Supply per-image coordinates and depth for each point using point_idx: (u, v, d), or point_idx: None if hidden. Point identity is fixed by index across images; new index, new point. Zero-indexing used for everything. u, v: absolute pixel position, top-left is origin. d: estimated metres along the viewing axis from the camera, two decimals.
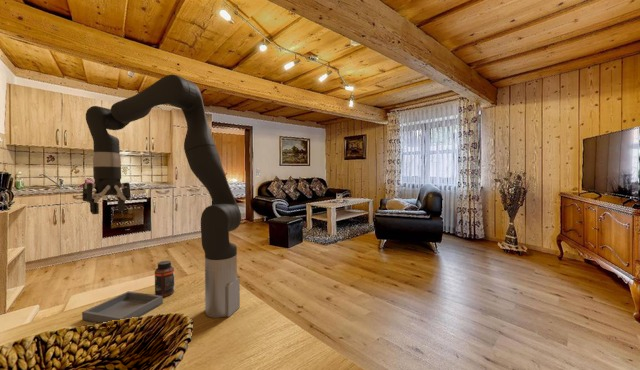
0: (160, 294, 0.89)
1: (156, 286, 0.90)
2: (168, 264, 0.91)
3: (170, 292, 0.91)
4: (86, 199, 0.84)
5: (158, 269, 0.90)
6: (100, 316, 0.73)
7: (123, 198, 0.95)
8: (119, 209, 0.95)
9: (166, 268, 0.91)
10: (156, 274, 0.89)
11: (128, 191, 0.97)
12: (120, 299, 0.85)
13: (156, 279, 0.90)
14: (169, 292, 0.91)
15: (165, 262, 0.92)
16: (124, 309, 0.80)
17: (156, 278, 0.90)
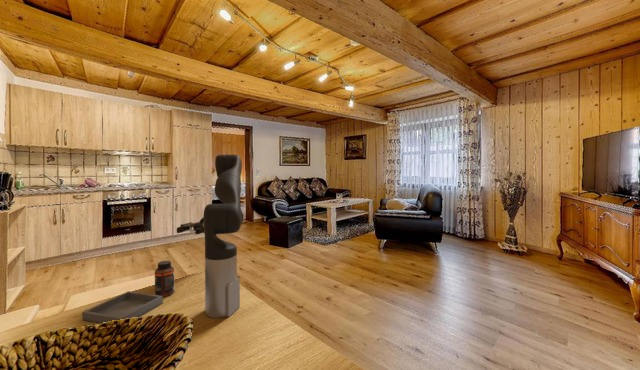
0: (160, 294, 0.89)
1: (156, 286, 0.90)
2: (168, 264, 0.91)
3: (170, 292, 0.91)
4: None
5: (158, 269, 0.90)
6: (100, 316, 0.73)
7: (204, 226, 1.06)
8: None
9: (166, 268, 0.91)
10: (156, 274, 0.89)
11: None
12: (120, 299, 0.85)
13: (156, 279, 0.90)
14: (169, 292, 0.91)
15: (165, 262, 0.92)
16: (124, 309, 0.80)
17: (156, 278, 0.90)
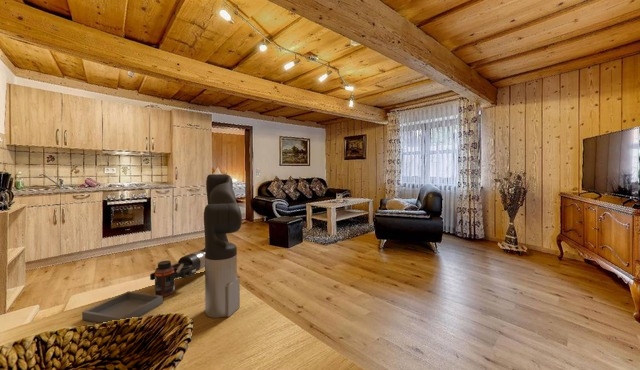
0: (160, 294, 0.89)
1: (156, 286, 0.90)
2: (168, 264, 0.91)
3: (170, 292, 0.91)
4: None
5: (158, 269, 0.90)
6: (100, 316, 0.73)
7: (177, 270, 0.93)
8: None
9: (166, 268, 0.91)
10: (156, 274, 0.89)
11: (187, 269, 0.95)
12: (120, 299, 0.85)
13: (156, 279, 0.90)
14: (169, 292, 0.91)
15: (165, 262, 0.92)
16: (124, 309, 0.80)
17: (156, 278, 0.90)
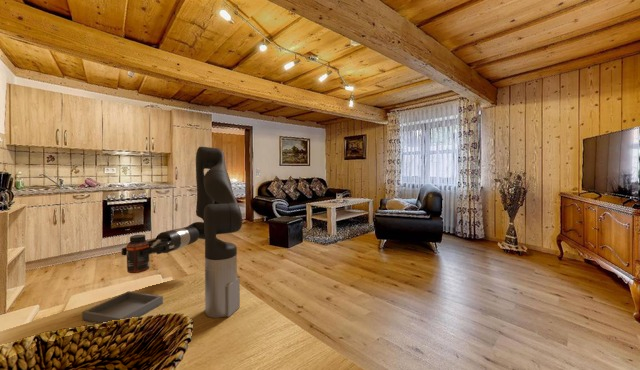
0: (132, 270, 0.81)
1: (128, 261, 0.81)
2: (141, 238, 0.83)
3: (144, 268, 0.83)
4: None
5: (130, 243, 0.82)
6: (100, 316, 0.73)
7: (152, 245, 0.85)
8: None
9: (139, 242, 0.82)
10: (128, 248, 0.81)
11: (164, 244, 0.86)
12: (120, 299, 0.85)
13: (128, 254, 0.81)
14: (142, 268, 0.82)
15: (138, 236, 0.83)
16: (124, 309, 0.80)
17: (128, 253, 0.81)
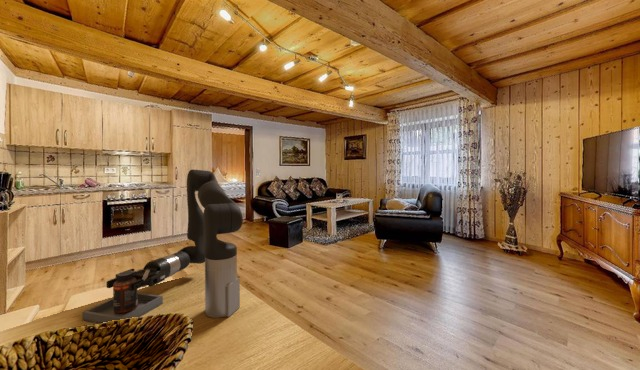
0: (119, 310, 0.77)
1: (114, 301, 0.78)
2: (129, 275, 0.79)
3: (131, 308, 0.79)
4: None
5: (117, 281, 0.78)
6: (100, 316, 0.73)
7: (143, 278, 0.82)
8: None
9: (126, 280, 0.79)
10: (114, 287, 0.77)
11: (155, 276, 0.83)
12: None
13: (114, 293, 0.77)
14: (130, 308, 0.79)
15: (126, 273, 0.80)
16: None
17: (114, 292, 0.77)
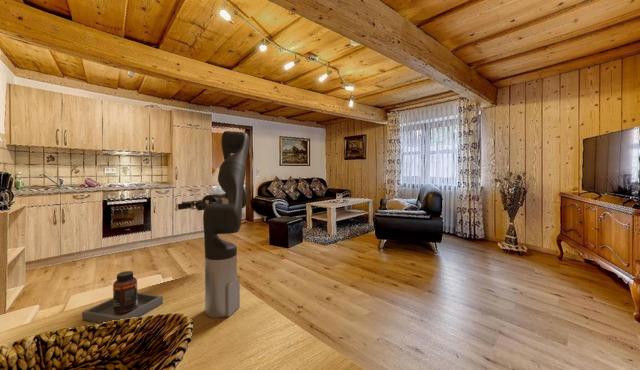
0: (119, 310, 0.77)
1: (114, 301, 0.78)
2: (129, 275, 0.79)
3: (131, 308, 0.79)
4: None
5: (117, 281, 0.78)
6: (100, 316, 0.73)
7: (206, 203, 1.01)
8: None
9: (126, 280, 0.79)
10: (114, 287, 0.77)
11: (215, 202, 1.02)
12: None
13: (114, 293, 0.77)
14: (130, 308, 0.79)
15: (126, 273, 0.80)
16: None
17: (114, 292, 0.77)
